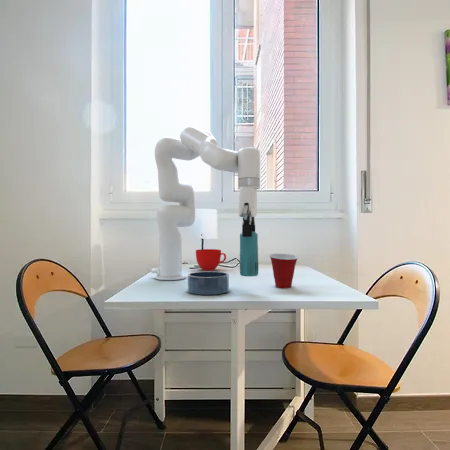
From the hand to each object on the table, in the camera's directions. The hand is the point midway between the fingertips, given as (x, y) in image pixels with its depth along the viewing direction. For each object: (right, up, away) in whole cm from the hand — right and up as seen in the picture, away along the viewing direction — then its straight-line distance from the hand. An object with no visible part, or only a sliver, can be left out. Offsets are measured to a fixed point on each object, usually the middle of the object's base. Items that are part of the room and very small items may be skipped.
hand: (248, 235), depth 121 cm
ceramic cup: (-15, -19, +57) cm, 62 cm away
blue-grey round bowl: (-14, -19, +1) cm, 24 cm away
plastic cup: (+14, -20, +10) cm, 26 cm away
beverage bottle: (0, -15, 0) cm, 15 cm away
